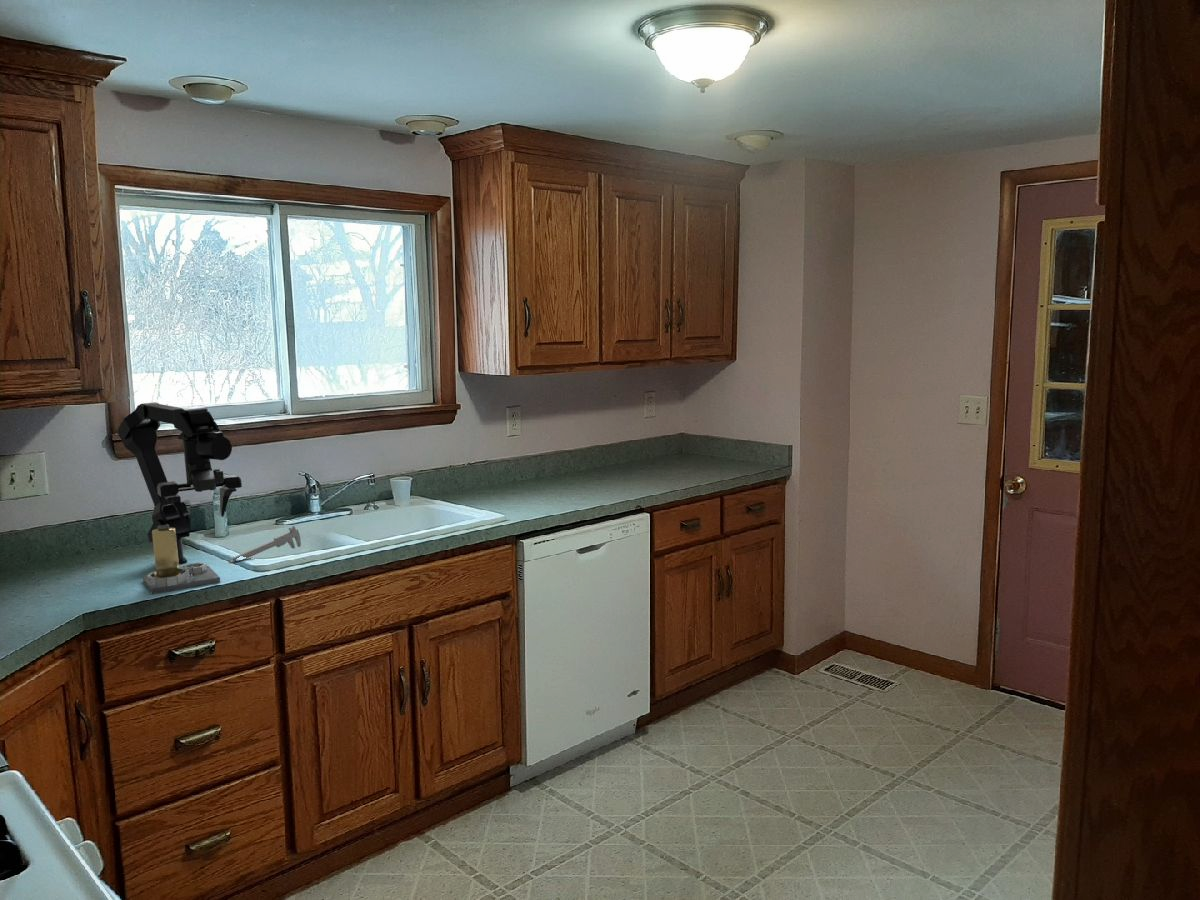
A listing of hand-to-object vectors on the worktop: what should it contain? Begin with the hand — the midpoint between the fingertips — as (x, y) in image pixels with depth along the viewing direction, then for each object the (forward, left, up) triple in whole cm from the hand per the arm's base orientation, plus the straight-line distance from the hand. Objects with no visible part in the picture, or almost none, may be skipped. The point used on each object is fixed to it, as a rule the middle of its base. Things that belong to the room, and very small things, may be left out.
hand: (203, 519), depth 229 cm
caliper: (-6, +16, -14) cm, 22 cm away
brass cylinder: (+9, -10, -12) cm, 18 cm away
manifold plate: (+7, -7, -13) cm, 17 cm away
